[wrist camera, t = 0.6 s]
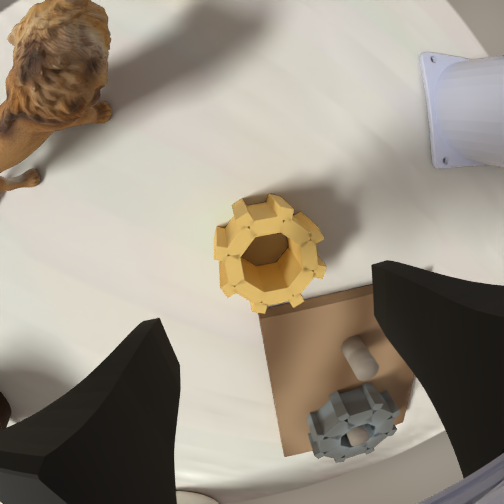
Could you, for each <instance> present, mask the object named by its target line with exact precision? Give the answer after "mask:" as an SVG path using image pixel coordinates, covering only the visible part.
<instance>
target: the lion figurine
mask: <svg viewBox="0 0 504 504" xmlns="http://www.w3.org/2000/svg"><path fill="white" fill-rule="evenodd" d="M7 40H8V41H9V42H10V43H11V44H12V45H14V46H15V48H14V51H13V62H14V64H13V67H12V69H11V70H10V72H9V75H8V76H7V78H6V93H7V99H6V100H5V101H4V102H3V103H2V104H1V105H0V173H1V172H3V171H4V170H7V169H9V168H11V167H13V166H14V165H16V164H18V163H20V162H21V161H23V160H24V159H25V158H27V157H28V156H29V155H30V154H32V153H33V152H34V151H35V150H36V149H37V148H39V147H40V145H41V144H42V143H43V142H44V141H45V140H46V139H47V138H48V137H49V136H50V135H51V133H52V132H53V131H57V130H62V129H65V128H69V127H73V126H77V125H82V124H87V123H105V122H107V121H108V120H109V119H110V116H111V113H112V112H111V107H110V106H109V105H108V104H107V103H106V102H102V103H100V104H98V105H96V104H97V103H98V102H99V98H100V89H101V88H102V87H104V86H105V85H106V83H107V72H108V61H107V60H108V55H109V52H108V50H109V49H110V45H109V44H110V42H111V38H110V32H109V29H108V16H107V14H106V12H105V9H104V8H103V7H101V6H100V5H98V4H96V3H94V2H92V1H91V0H45V1H44V2H42V3H37V4H35V5H34V6H32V7H31V8H30V9H29V11H28V13H27V15H26V16H24V17H23V18H22V19H21V21H20V23H18V24H16V25H15V26H14V27H13V29H12V32H11V33H10V34H9V36H8V38H7ZM39 182H40V175H39V173H38V171H37V170H36V169H29V170H28V171H26V172H25V173H23V174H22V175H20V176H17V177H14V178H7V179H6V178H4V177H2V176H0V193H1V192H3V191H5V190H6V191H11V190H14V189H17V188H22V187H34V186H37V185H38V184H39Z"/></svg>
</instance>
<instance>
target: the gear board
mask: <svg viewBox="0 0 504 504" xmlns="http://www.w3.org/2000/svg"><path fill="white" fill-rule="evenodd" d="M258 315H259V321H260V326H261V332H262V337H263V343H264V348H265V354H266V360H267V365H268V371H269V376H270V382H271V387H272V393H273V398H274V404H275V409H276V415H277V420H278V426H279V431H280V437H281V442H282V448H283V452H284V456H285V457H287V456H292V455H296V454H301V453H305V452H309V451H313V453H314V456H315V457H317V458H318V459H319V458H321V457H323V456H326V457H331V458H334V460H335V462H344V460H345V459H346V458H349V457H352V456H356V455H359V454H362V453H366V454H369V453H370V452H372V451H374V447H375V446H376V445H378V444H379V443H380V442H381V441H382V440H384V439H385V438H386V437H387V436H391V435H393V434H394V433H395V432H396V430H397V428H396V427H395V425H397V424H399V423H402V422H403V420H404V416H405V412H406V408H407V404H408V400H409V396H410V391H411V387H412V382H413V377H414V373H413V372H412V370H411V369H410V368H409V367H408V365H407V364H406V363H405V361H404V360H403V359H402V357H401V356H400V355H399V353H398V352H397V351H396V350H395V348H394V347H393V346H392V344H391V343H390V342H389V340H388V339H387V338H386V336H385V334H384V333H383V331H382V329H381V328H380V326H379V324H378V322H377V320H376V318H375V316H374V302H373V284H372V285H367V286H363V287H359V288H355V289H351V290H346V291H342V292H338V293H333V294H329V295H324V296H320V297H315V298H311V299H306V300H304V302H302V303H301V304H299V305H297V306H296V307H294V308H293V307H292V305H291V304H290V303H287V304H282V305H277V306H273V307H268V308H267V309H266V312H265V314H263V313H258Z"/></svg>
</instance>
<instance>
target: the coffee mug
mask: <svg viewBox="0 0 504 504" xmlns="http://www.w3.org/2000/svg"><path fill="white" fill-rule="evenodd" d="M10 416H11V408H10V406H9V403H8V402H7V400H6V398H5V397H4V396H3V394H2V393H1V392H0V430H2V429H5V428H6V427H7V424H8V421H9V418H10Z"/></svg>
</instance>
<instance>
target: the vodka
mask: <svg viewBox="0 0 504 504" xmlns="http://www.w3.org/2000/svg"><path fill="white" fill-rule="evenodd" d="M176 498H177V504H219V503H218V502H217V501H216V500H214V499H212V498H210V497H208V496H205V495H202V494H199V493H194V492H188V491H176Z"/></svg>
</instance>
